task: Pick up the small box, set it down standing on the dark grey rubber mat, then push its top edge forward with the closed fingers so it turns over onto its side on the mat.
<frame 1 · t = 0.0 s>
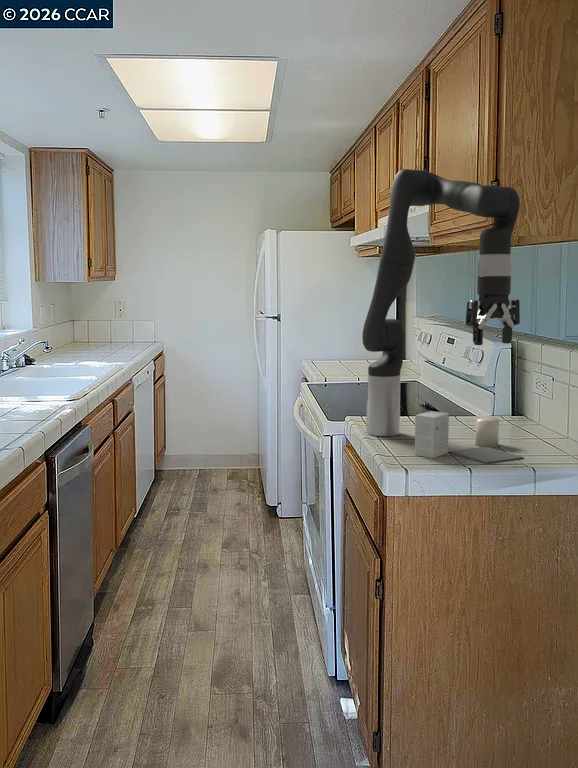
hand: (492, 344, 182), 29 cm above the counter, fingers open, 8 cm apart
beige rounded block: (486, 444, 210), on the counter
small box: (431, 454, 199), on the counter
mat: (485, 455, 197), on the counter
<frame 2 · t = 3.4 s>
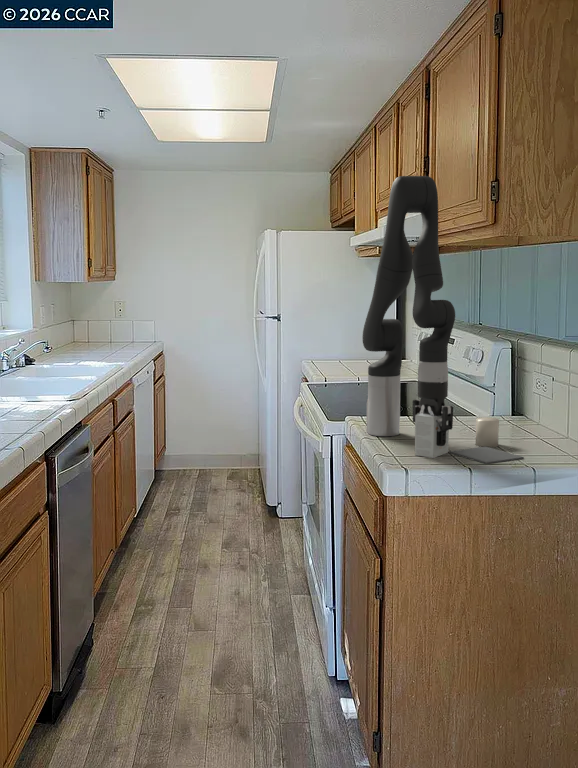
hand: (431, 442, 199), 3 cm above the counter, fingers closed on small box, 7 cm apart
small box: (431, 454, 199), on the counter, touching gripper
everything else where it was.
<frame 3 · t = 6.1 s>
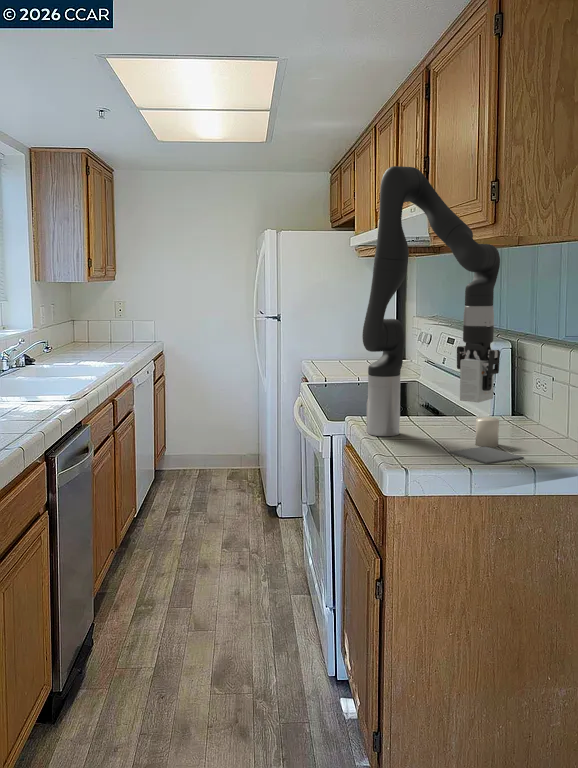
hand: (476, 388, 199), 17 cm above the counter, fingers closed on small box, 7 cm apart
small box: (476, 400, 199), point 14 cm above the counter, touching gripper
everything else where it was.
when the fingers open (4 cm above the counter, at t = 8.8 s): small box moves 1 cm, resting on mat.
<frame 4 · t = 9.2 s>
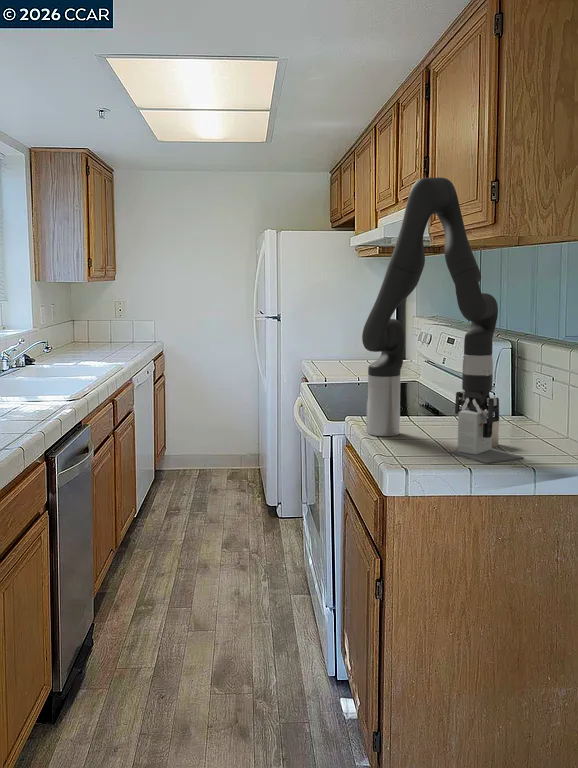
hand: (475, 434, 200), 5 cm above the counter, fingers open, 8 cm apart
small box: (474, 451, 201), resting on mat
everything else where it was.
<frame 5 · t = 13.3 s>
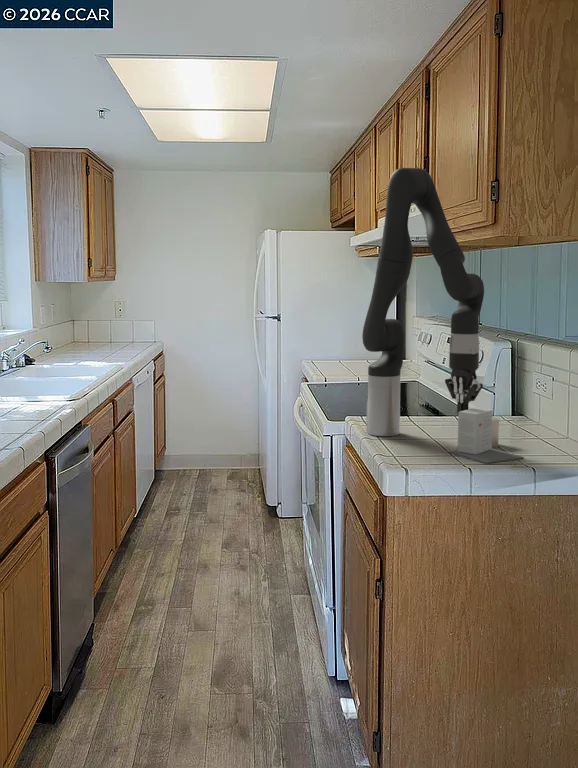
hand: (462, 416, 204), 9 cm above the counter, fingers closed
small box: (474, 451, 201), resting on mat, touching gripper
everything else where it was.
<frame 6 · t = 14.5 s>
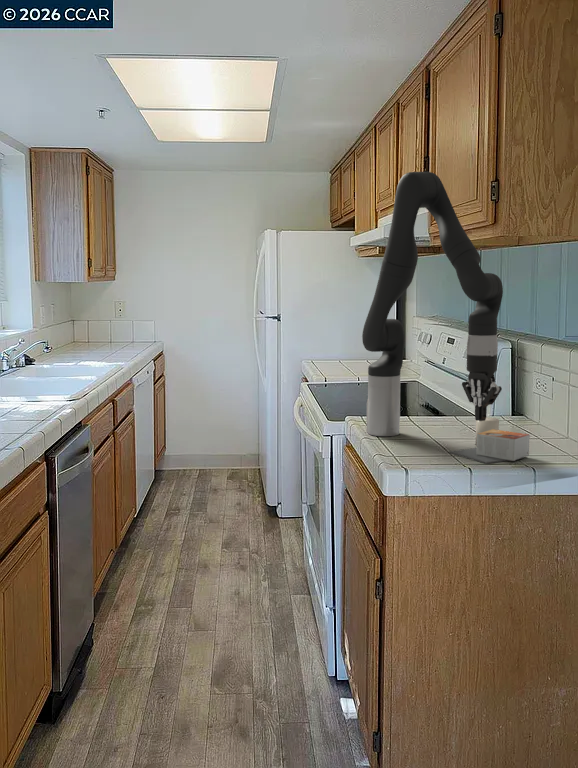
hand: (480, 420, 198), 9 cm above the counter, fingers closed
small box: (483, 441, 199), point 3 cm above the counter, touching mat
everything else where it was.
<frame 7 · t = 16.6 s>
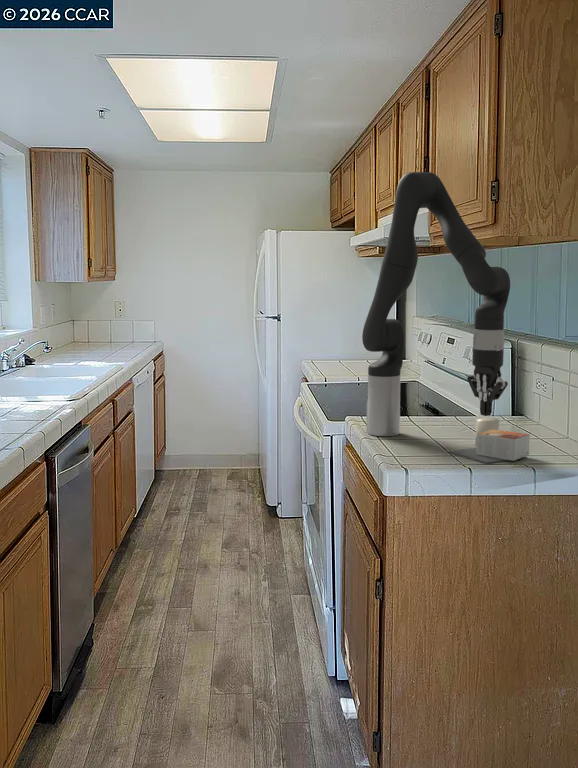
hand: (485, 415, 197), 10 cm above the counter, fingers closed
nothing on the counter moved.
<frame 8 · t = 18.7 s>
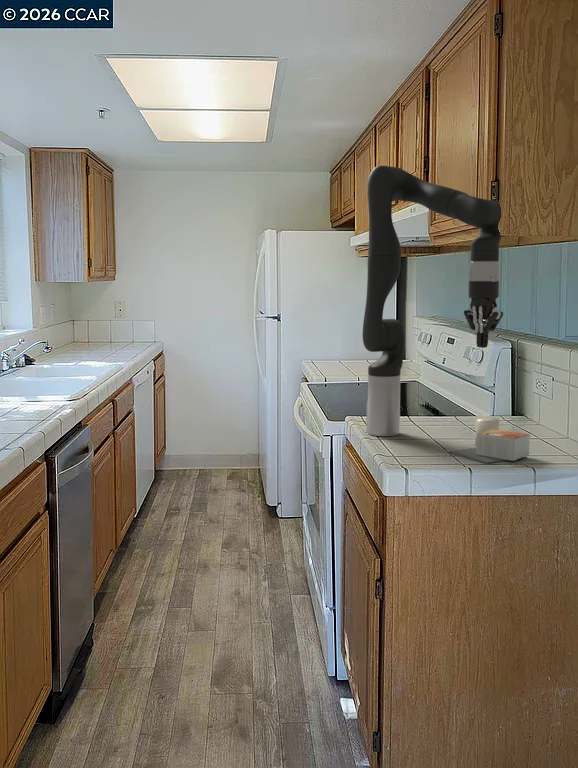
hand: (482, 347, 200), 27 cm above the counter, fingers closed
nothing on the counter moved.
at the end: small box tilted 90°; small box inside the target area on the mat (4.1 cm from its centre), point 3.1 cm above the mat's base; the gripper is holding nothing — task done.
